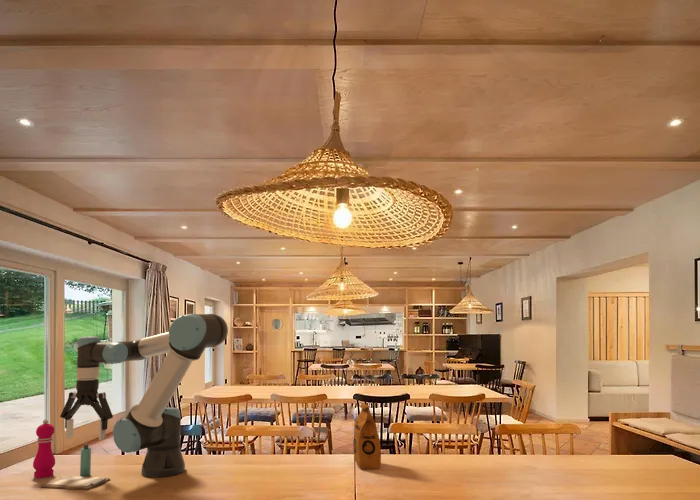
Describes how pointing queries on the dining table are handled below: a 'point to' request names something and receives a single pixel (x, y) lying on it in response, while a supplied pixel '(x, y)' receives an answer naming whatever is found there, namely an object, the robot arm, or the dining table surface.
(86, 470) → the bottle
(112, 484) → the dining table surface
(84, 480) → the clipboard
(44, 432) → the pepper mill
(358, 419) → the coffee package
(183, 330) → the robot arm
